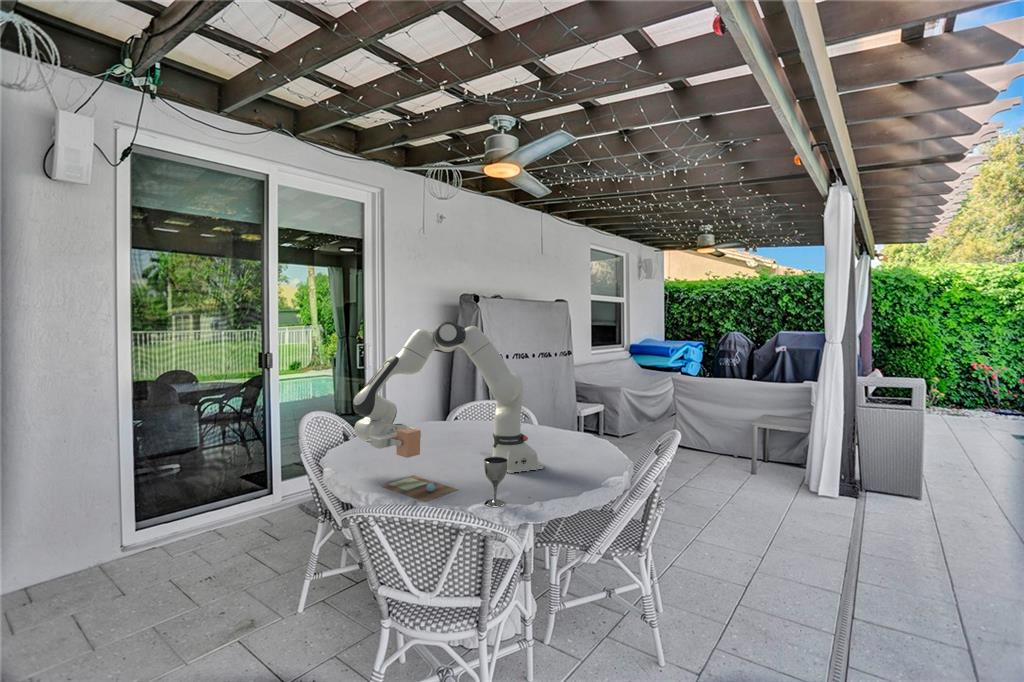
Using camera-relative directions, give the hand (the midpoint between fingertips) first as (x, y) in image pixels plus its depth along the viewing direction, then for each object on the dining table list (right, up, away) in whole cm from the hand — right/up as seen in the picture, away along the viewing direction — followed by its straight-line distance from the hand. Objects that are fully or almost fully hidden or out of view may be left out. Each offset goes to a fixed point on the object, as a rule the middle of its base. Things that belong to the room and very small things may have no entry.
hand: (410, 441), depth 188 cm
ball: (+8, -15, -6) cm, 18 cm away
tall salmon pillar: (-1, -5, +1) cm, 5 cm away
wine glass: (+31, -19, -13) cm, 39 cm away
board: (+4, -17, -2) cm, 18 cm away
